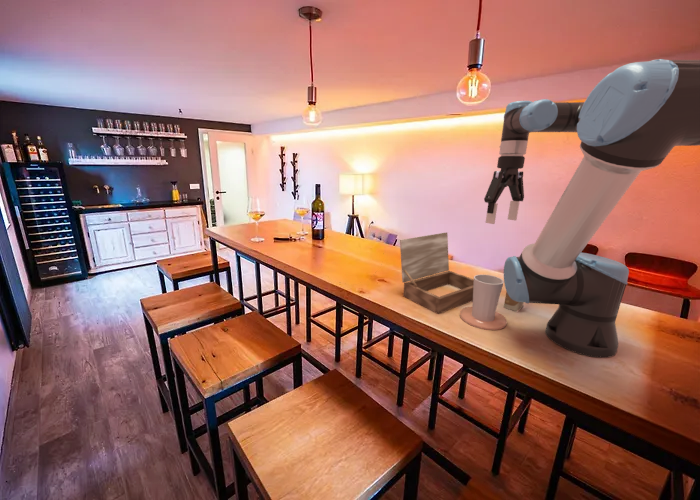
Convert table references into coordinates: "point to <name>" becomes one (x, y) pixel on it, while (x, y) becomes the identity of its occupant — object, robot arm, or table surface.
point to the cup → (486, 296)
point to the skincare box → (512, 304)
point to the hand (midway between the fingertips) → (501, 221)
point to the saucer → (496, 324)
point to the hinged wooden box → (432, 273)
